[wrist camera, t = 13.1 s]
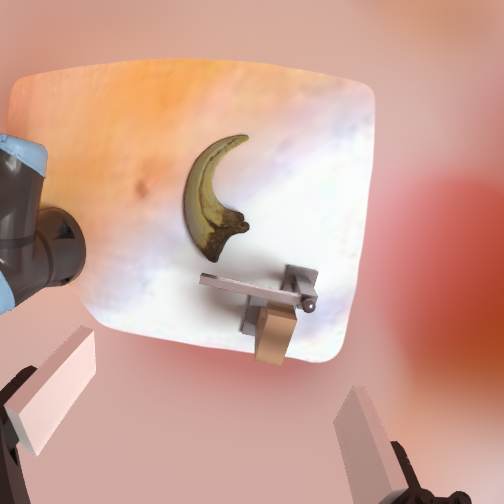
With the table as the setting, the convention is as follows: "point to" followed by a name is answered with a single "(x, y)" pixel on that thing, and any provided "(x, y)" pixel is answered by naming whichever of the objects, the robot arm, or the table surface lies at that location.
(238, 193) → the table surface
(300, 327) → the table surface
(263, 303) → the mat
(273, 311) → the tan brick
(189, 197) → the claw
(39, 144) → the robot arm
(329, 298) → the table surface
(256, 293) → the grey lever handle
